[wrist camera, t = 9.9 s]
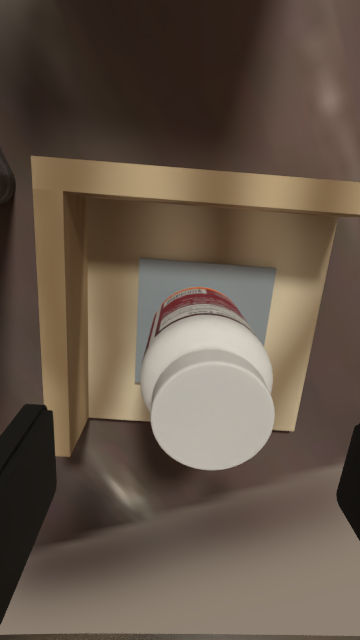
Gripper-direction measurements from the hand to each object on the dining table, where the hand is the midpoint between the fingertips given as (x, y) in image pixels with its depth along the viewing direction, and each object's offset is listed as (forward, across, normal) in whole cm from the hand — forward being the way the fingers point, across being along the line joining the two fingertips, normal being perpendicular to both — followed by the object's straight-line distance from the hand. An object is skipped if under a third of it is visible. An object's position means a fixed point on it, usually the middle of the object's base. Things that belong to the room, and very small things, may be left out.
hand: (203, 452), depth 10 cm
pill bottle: (+13, -1, 0) cm, 13 cm away
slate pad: (+13, -1, 0) cm, 13 cm away
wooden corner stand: (+14, -1, 0) cm, 14 cm away
